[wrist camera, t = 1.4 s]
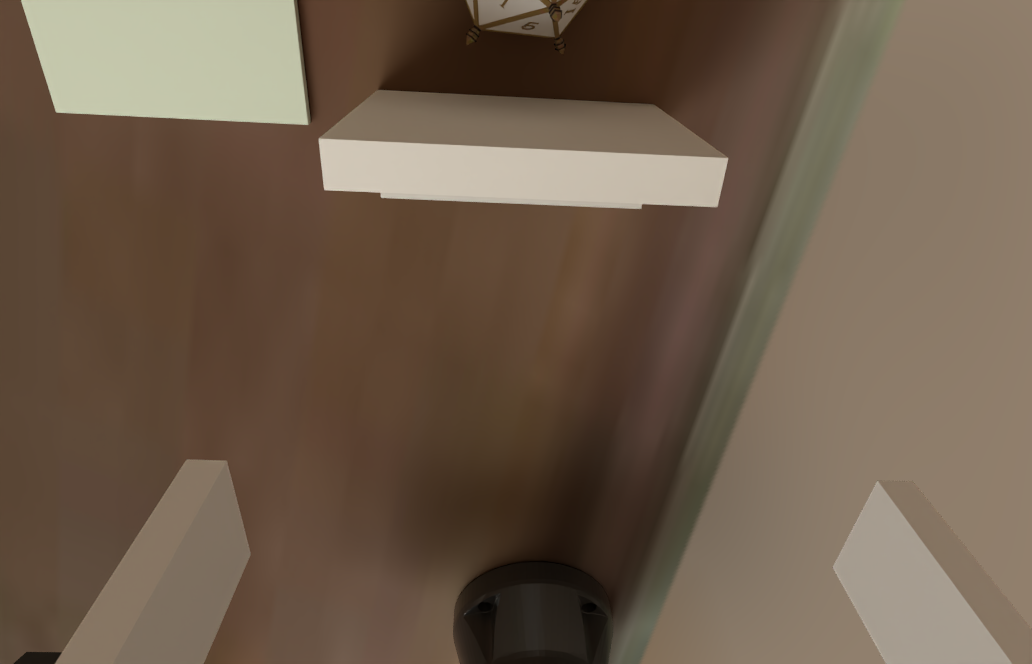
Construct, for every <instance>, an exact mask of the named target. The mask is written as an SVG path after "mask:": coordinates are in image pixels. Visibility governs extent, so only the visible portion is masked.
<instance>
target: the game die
mask: <svg viewBox="0 0 1032 664" xmlns="http://www.w3.org/2000/svg"><path fill="white" fill-rule="evenodd" d="M587 1H588V0H465V2H466V4H467V7H468V10H469V12H470V15H471V17H472V20H473V23H474V27H473V28H472V29H469V30H470V31H469V33H468V34H466V35H467V45H468V44H470V43H473V42H476V39H477V37H478V38H479V36H478V35H479V32H480V31H481V30H483V31H492V32H501V33H509V34H518V35H526V36H535V37H544V38H552V39H554V40H555V44H554V45H555V46H556V48H555V50H558V51H559V52H560V53H561V54H564V48H565V46H566V44H564V40H563V39H562V38H561V35H562V33H563V32H564V31H565V29H566V28H567V27H568V26H569V24H570V23H571V22H572V20H573V19H574V18H575V16H576V15H577V14H578V13H579V11H580V10H581V9H582V7H583V6H584V5H585V4H586V2H587Z"/></svg>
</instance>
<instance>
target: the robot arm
mask: <svg viewBox="0 0 1032 664" xmlns="http://www.w3.org/2000/svg"><path fill="white" fill-rule="evenodd" d="M250 555H251V553H250V550H249V546H248V542H247V538H246V534H245V530H244V526H243V522H242V518H241V514H240V510H239V507H238V503H237V499H236V495H235V491H234V487H233V483H232V479H231V475H230V471H229V468H228V464H227V461H218V460H186V461H185V463H184V464H183V466H182V467H181V469H180V471H179V472H178V474H177V475H176V477H175V478H174V480H173V481H172V483H171V484H170V486H169V488H168V489H167V491H166V492H165V494H164V495H163V497H162V498H161V500H160V502H159V503H158V505H157V506H156V508H155V509H154V511H153V512H152V514H151V515H150V517H149V519H148V520H147V522H146V523H145V525H144V526H143V528H142V529H141V531H140V533H139V534H138V536H137V537H136V539H135V540H134V542H133V543H132V545H131V547H130V548H129V550H128V551H127V553H126V554H125V556H124V557H123V559H122V560H121V562H120V564H119V565H118V567H117V568H116V570H115V571H114V573H113V574H112V576H111V578H110V579H109V581H108V582H107V584H106V585H105V587H104V588H103V590H102V591H101V593H100V595H99V596H98V598H97V599H96V601H95V602H94V604H93V605H92V607H91V609H90V610H89V612H88V613H87V615H86V616H85V618H84V619H83V621H82V622H81V624H80V626H79V627H78V629H77V630H76V632H75V633H74V635H73V636H72V638H71V640H70V641H69V643H68V644H67V646H66V647H65V649H64V650H63V652H62V653H60V652H26V653H25V654H24V655H23V656H22V657H20V658H19V659H18V660H17V661H16V662H15V663H14V664H204V661H205V659H206V657H207V654H208V652H209V650H210V647H211V645H212V643H213V640H214V638H215V636H216V633H217V631H218V629H219V626H220V624H221V622H222V620H223V617H224V615H225V613H226V610H227V608H228V606H229V603H230V601H231V599H232V596H233V594H234V592H235V589H236V587H237V585H238V582H239V580H240V578H241V575H242V573H243V571H244V568H245V566H246V564H247V561H248V559H249V557H250ZM833 569H834V571H835V573H836V575H837V576H838V578H839V580H840V582H841V583H842V585H843V587H844V589H845V591H846V593H847V594H848V596H849V598H850V600H851V602H852V603H853V605H854V607H855V609H856V611H857V612H858V614H859V616H860V618H861V620H862V621H863V623H864V625H865V627H866V629H867V630H868V632H869V634H870V636H871V638H872V640H873V641H874V643H875V645H876V647H877V649H878V650H879V652H880V654H881V656H882V658H883V659H884V661H885V663H886V664H1032V628H1031V627H1030V626H1029V625H1028V624H1027V622H1026V621H1025V620H1024V619H1023V617H1022V616H1021V615H1020V614H1019V612H1018V611H1017V610H1016V609H1015V607H1014V606H1013V605H1012V604H1011V602H1010V601H1009V600H1008V599H1007V597H1006V596H1005V595H1004V594H1003V593H1002V591H1001V590H1000V589H999V587H998V586H997V585H996V584H995V582H994V581H993V580H992V579H991V577H990V576H989V575H988V574H987V573H986V571H985V570H984V569H983V568H982V566H981V565H980V564H979V563H978V561H977V560H976V559H975V558H974V557H973V555H972V554H971V553H970V551H969V550H968V549H967V548H966V546H965V545H964V544H963V543H962V542H961V540H960V539H959V538H958V536H957V535H956V534H955V533H954V532H953V530H952V529H951V528H950V527H949V525H948V524H947V523H946V522H945V520H944V519H943V518H942V517H941V516H940V514H939V513H938V512H937V510H936V509H935V508H934V507H933V505H932V504H931V503H930V502H929V500H928V499H927V498H926V497H925V496H924V494H923V493H922V492H921V491H920V490H919V488H918V487H917V486H916V484H915V483H914V482H911V481H909V482H908V481H877V482H876V484H875V486H874V488H873V490H872V492H871V494H870V496H869V498H868V500H867V502H866V504H865V506H864V508H863V509H862V511H861V513H860V515H859V517H858V519H857V521H856V523H855V525H854V527H853V529H852V531H851V533H850V535H849V537H848V539H847V540H846V543H845V544H844V546H843V548H842V550H841V552H840V554H839V556H838V558H837V560H836V562H835V564H834V566H833ZM453 637H454V643H455V647H456V651H457V654H458V658H459V662H460V664H608V663H609V657H610V650H611V644H612V637H613V619H612V614H611V608H610V603H609V599H608V596H607V594H606V592H605V591H604V589H603V588H602V586H601V585H600V584H599V583H598V582H597V581H596V580H594V579H593V578H592V577H590V576H589V575H587V574H585V573H583V572H581V571H579V570H577V569H574V568H572V567H568V566H565V565H561V564H555V563H547V562H525V563H517V564H512V565H507V566H503V567H500V568H497V569H494V570H492V571H490V572H487V573H485V574H484V575H482V576H480V577H478V578H477V579H475V580H474V581H473V582H472V583H470V584H469V585H468V586H467V587H466V588H465V589H464V590H463V592H462V593H461V595H460V596H459V598H458V600H457V602H456V605H455V610H454V625H453Z"/></svg>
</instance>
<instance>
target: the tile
mask: <svg viewBox="0 0 1032 664" xmlns="http://www.w3.org/2000/svg"><path fill="white" fill-rule="evenodd" d="M21 1H22V5H23V8H24V11H25V14H26V17H27V21H28V24H29V27H30V30H31V33H32V37H33V40H34V43H35V46H36V49H37V52H38V56H39V59H40V62H41V65H42V68H43V72H44V75H45V78H46V81H47V84H48V88H49V91H50V94H51V97H52V100H53V104H54V107H55V110H56V112H58V113H79V114H99V115H120V116H140V117H161V118H181V119H201V120H222V121H242V122H263V123H283V124H304V125H308V124H310V123H311V120H310V111H309V102H308V93H307V84H306V76H305V67H304V58H303V49H302V40H301V31H300V22H299V13H298V5H297V0H21Z"/></svg>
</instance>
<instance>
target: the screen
mask: <svg viewBox="0 0 1032 664" xmlns="http://www.w3.org/2000/svg"><path fill="white" fill-rule="evenodd" d="M319 146H320V156H321V165H322V174H323V183H324V190H335V191H357V192H380V193H381V198H399V199H422V200H445V201H468V202H492V203H515V204H538V205H561V206H584V207H607V208H631V209H641V207H642V204H656V205H679V206H702V207H717V206H718V202H719V197H720V193H721V189H722V184H723V180H724V175H725V171H726V167H727V162H728V158H727V157H726V156H725V155H723V154H722V153H721V152H719V151H718V150H716V149H715V148H714V147H712V146H711V145H709V144H708V143H707V142H705V141H704V140H703V139H701V138H700V137H698V136H697V135H696V134H694V133H693V132H691V131H690V130H689V129H687V128H686V127H685V126H683V125H682V124H680V123H679V122H678V121H676V120H675V119H673V118H672V117H671V116H669V115H668V114H667V113H665V112H664V111H662V110H661V109H660V108H658V107H657V106H655V105H654V104H640V103H621V102H602V101H583V100H564V99H544V98H525V97H506V96H487V95H468V94H449V93H429V92H410V91H391V90H377V91H376V92H374V93H373V94H372V95H371V96H370V97H368V98H367V99H366V100H365V101H364V102H362V103H361V104H360V105H359V106H357V107H356V108H355V109H354V110H353V111H351V112H350V113H349V114H348V115H347V116H345V117H344V118H343V119H342V120H341V121H339V122H338V123H337V124H336V125H334V126H333V127H332V128H331V129H330V130H328V131H327V132H326V133H325V134H324V135H322V136H321V137H320V138H319Z"/></svg>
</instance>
